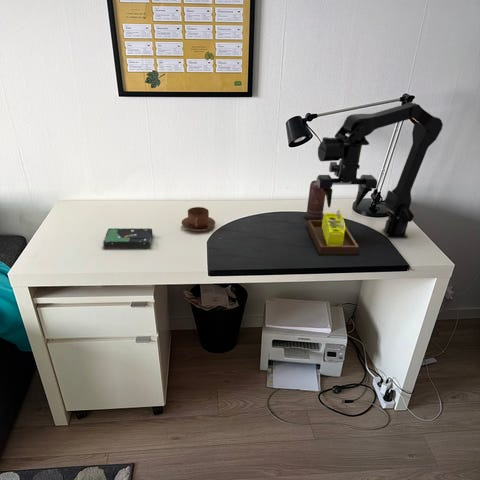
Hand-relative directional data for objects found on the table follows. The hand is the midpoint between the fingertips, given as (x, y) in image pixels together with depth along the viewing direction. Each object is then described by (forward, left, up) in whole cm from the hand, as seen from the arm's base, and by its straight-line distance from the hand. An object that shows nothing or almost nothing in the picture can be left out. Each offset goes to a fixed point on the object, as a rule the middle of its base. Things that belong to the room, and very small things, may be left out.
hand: (342, 207), depth 147 cm
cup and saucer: (+48, -9, -12) cm, 51 cm away
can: (+4, -17, -12) cm, 22 cm away
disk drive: (+71, +3, -12) cm, 72 cm away
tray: (+2, +1, -12) cm, 12 cm away
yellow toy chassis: (+2, +1, -11) cm, 11 cm away
